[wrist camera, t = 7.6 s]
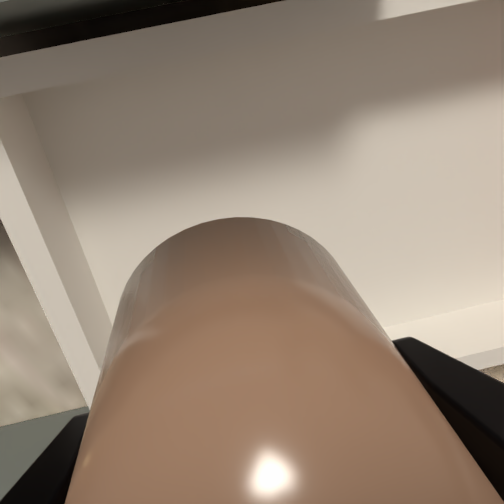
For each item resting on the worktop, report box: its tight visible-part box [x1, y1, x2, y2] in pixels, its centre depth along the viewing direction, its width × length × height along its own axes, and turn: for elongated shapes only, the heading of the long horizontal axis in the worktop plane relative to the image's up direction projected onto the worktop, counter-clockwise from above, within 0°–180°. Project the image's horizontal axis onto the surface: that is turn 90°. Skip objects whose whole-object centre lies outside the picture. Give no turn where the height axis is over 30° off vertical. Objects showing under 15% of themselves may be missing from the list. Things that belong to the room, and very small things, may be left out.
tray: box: [0, 0, 504, 410], centre depth 12 cm, size 20×16×8 cm
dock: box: [0, 0, 186, 500], centre depth 13 cm, size 21×16×6 cm
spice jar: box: [65, 217, 504, 504], centre depth 7 cm, size 5×5×7 cm
